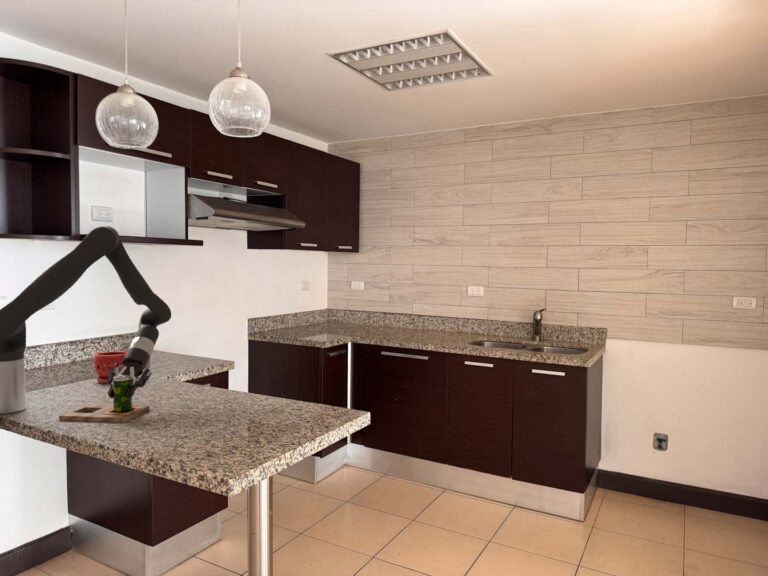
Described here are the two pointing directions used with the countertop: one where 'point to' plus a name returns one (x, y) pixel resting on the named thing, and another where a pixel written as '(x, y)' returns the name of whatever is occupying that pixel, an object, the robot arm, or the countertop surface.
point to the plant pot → (107, 363)
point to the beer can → (121, 394)
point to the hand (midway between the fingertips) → (119, 396)
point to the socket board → (102, 413)
